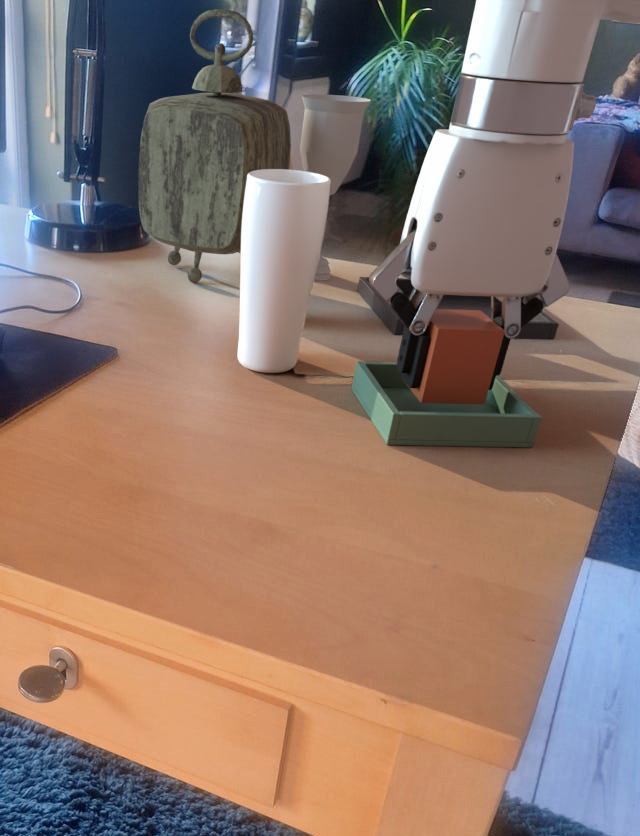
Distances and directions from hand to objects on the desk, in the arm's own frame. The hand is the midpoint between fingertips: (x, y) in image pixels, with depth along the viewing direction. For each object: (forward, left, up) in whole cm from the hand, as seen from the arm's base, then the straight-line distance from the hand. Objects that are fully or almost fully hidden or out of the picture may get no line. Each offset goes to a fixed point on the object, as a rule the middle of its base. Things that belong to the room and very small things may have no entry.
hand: (445, 380), depth 68 cm
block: (0, 0, -1) cm, 1 cm away
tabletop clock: (+15, -39, -3) cm, 42 cm away
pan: (-10, -27, -3) cm, 29 cm away
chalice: (+2, -41, -3) cm, 41 cm away
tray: (0, 0, -3) cm, 3 cm away
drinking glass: (+12, -11, -3) cm, 17 cm away
